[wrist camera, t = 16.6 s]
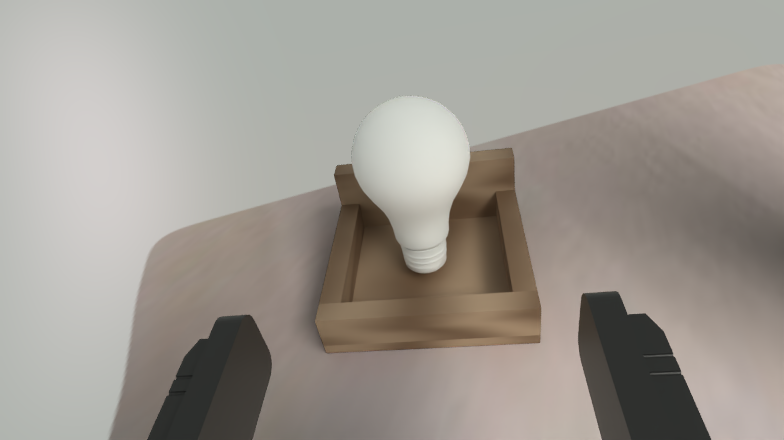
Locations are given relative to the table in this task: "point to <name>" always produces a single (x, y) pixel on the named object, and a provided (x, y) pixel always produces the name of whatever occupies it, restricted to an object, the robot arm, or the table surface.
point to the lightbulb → (413, 172)
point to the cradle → (439, 288)
